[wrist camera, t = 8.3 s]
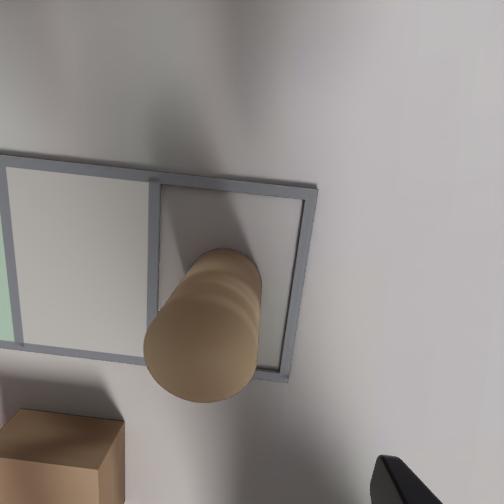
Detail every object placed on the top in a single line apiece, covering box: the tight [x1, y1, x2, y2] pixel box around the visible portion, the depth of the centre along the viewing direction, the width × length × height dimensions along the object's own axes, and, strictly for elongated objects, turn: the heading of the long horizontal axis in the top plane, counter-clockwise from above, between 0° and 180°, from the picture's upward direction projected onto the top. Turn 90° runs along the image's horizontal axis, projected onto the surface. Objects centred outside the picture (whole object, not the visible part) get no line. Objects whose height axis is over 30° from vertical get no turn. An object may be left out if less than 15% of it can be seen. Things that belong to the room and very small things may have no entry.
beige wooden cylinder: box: [143, 248, 262, 403], centre depth 13 cm, size 4×4×6 cm
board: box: [0, 154, 318, 383], centre depth 16 cm, size 22×10×1 cm, turn 84°
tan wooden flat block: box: [0, 409, 125, 504], centre depth 18 cm, size 6×6×3 cm
